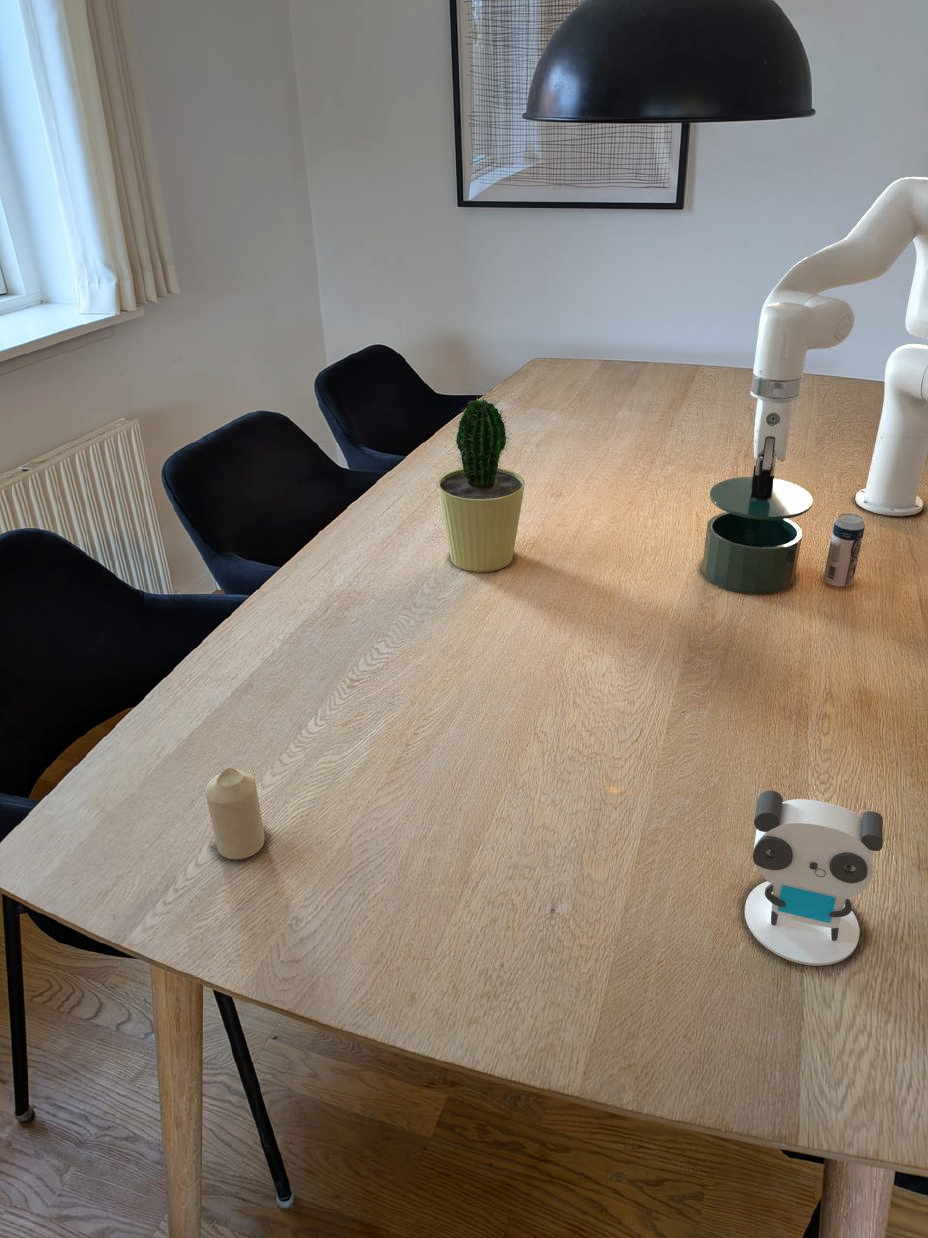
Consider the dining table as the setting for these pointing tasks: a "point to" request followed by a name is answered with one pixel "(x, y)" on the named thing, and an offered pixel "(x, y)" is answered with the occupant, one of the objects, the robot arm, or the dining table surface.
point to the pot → (751, 553)
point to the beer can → (844, 550)
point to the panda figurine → (810, 877)
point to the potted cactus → (481, 494)
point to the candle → (235, 814)
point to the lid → (760, 499)
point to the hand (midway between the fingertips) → (761, 492)
